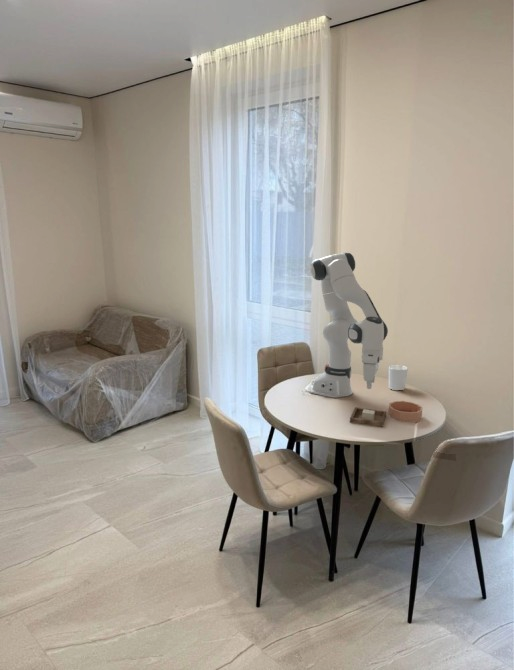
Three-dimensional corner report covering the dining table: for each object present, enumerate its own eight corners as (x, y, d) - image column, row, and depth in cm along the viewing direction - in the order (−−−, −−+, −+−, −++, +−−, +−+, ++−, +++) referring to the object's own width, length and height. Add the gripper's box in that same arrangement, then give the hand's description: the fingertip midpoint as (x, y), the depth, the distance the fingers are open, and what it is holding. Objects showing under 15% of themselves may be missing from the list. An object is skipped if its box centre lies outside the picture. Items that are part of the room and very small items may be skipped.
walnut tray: (349, 424, 215) (350, 418, 214) (354, 413, 227) (355, 407, 227) (382, 429, 210) (382, 422, 209) (385, 417, 223) (386, 411, 222)
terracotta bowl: (386, 420, 219) (387, 410, 218) (389, 409, 233) (390, 399, 232) (420, 425, 215) (421, 414, 213) (422, 413, 228) (422, 403, 227)
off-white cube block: (361, 419, 217) (362, 412, 217) (363, 416, 221) (363, 409, 220) (373, 421, 216) (373, 413, 215) (374, 418, 219) (375, 410, 219)
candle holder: (408, 387, 264) (410, 366, 261) (402, 392, 256) (404, 370, 253) (390, 384, 269) (391, 363, 267) (384, 389, 261) (386, 367, 259)
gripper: (368, 348, 222) (366, 377, 225) (361, 359, 204) (359, 391, 207) (382, 349, 220) (380, 379, 223) (376, 361, 202) (375, 393, 204)
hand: (370, 385), depth 215 cm, fingers open, 8 cm apart
